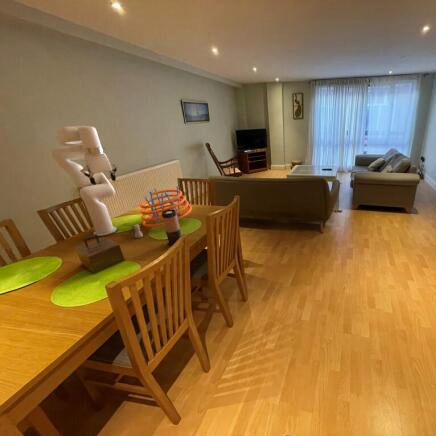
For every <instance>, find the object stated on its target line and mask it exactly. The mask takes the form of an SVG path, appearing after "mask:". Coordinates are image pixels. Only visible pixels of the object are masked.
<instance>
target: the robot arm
mask: <svg viewBox="0 0 436 436" xmlns="http://www.w3.org/2000/svg"><path fill="white" fill-rule="evenodd" d="M55 139H56V141H57V142H58V144H60V145H62V146H57V147H54V148H52V149H51V151H50V154H51V156H52V159H53V161H54V162H55V163H56V164H57V165H58V166H59V167H60V168H61V169H63V170H64V171H65V172H66V173H67V175H68V176H69V178H70V179H71V180H72V181H73V183H74V184H75V186H76V187H78V188H80V189H79V192H78V193H79V196H80V198H81V199H82V201H83V203H84V204H85V206H86V209H87V211H88V215H89V217H90V220H91V222H92V225H93V228H94V230H95V231H94V232H93V234H92V235H94V234H97V235H98V237H104V236H108V235H110V234H113V233H115V232H117V229H118V228H117V227H116V226H113V223H112V220H111V217H110V212H109V211H108V208H107V206H106V204H105V203H103V202H102V200H105V199H109V198H112V197H115V195H116V190H115V188H114V187H113V184H112V183H111V182H110V181H109V179H108V178H107V176H106V175H105V174H104V173H107V172H108V173H110V174H109V175H110V179H111V181H112V182H116V179H117V177H116V172H117V171H118V164H114V163H111V162H110V160H109V158H108V156H107V154H106V153H105V151H106V148H105V147H102V143H101V141H100V138H99V134H98V130H97V129H96V127H94V126H90V125H89V126H88V125H76V126H75V125H72V126H71V125H70V126H61V127H59V128H57V130H56V136H55ZM76 160H77V161H78V160H84V163H85V166H84V167H83V165H81V164H79V163H77V162H75V161H76ZM100 200H101V201H100Z"/></svg>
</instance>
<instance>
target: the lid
mask: <svg viewBox="0 0 436 436" xmlns="http://www.w3.org/2000/svg"><path fill="white" fill-rule="evenodd" d="M94 239H95V241H91V240H94ZM88 241H91V242H89V243H88ZM82 242H84V244H83V245H79V246H78V247H75V248H74V249H75V251H76V250H77V251H78V252H80V253H82V254H83V255H85V256H86V257H88V258H90V257H92V256H95V255H97V254H100V253H103V252H105V251H108V250H110V249H113V248H115V247H118V246H120V247H121V245H120V243H117V242H115V241H113V240H111V239H109V238H108V237H103V238H100V239H99V236H98V235H97V234H91V235H88V236H85V237H82ZM77 251H76V252H77Z"/></svg>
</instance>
